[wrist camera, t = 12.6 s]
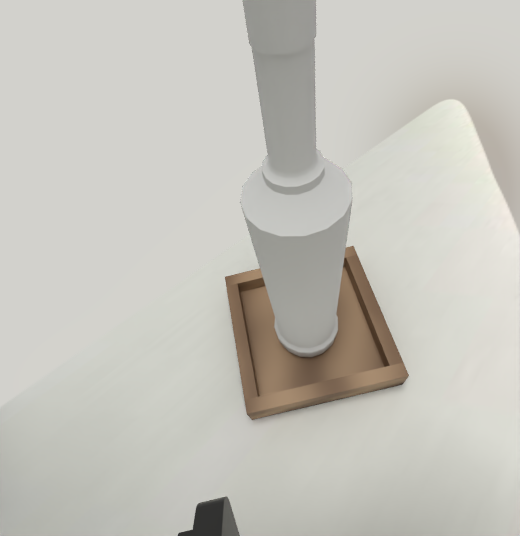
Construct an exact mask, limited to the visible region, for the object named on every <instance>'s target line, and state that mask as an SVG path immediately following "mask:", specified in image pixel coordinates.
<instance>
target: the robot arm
mask: <svg viewBox="0 0 520 536" xmlns="http://www.w3.org/2000/svg"><path fill="white" fill-rule="evenodd" d="M178 536H240V535H239V532H238V529H237V525H236V522H235V519H234V515H233V512H232V509H231V505H230V502H229V499H228V498H227V497H223V498H219V499H214V500H210V501H206V502H201V503H198V505H197V507H196V513H195V519H194V525H193V530H190V531H185V532H181V533H179V534H178Z"/></svg>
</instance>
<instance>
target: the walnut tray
mask: <svg viewBox="0 0 520 536" xmlns="http://www.w3.org/2000/svg"><path fill="white" fill-rule="evenodd" d="M225 280H226V287H227V293H228V299H229V305H230V312H231V318H232V324H233V330H234V337H235V343H236V349H237V355H238V362H239V368H240V374H241V380H242V386H243V393H244V399H245V405H246V411H247V415H248V416H249V417H250V418H251V419H252V420H253V419H257V418H261V417H266V416H270V415H274V414H279V413H283V412H287V411H291V410H296V409H300V408H304V407H308V406H313V405H317V404H321V403H325V402H330V401H334V400H338V399H343V398H347V397H351V396H355V395H360V394H364V393H368V392H372V391H377V390H381V389H385V388H389V387H394V386H398V385H402V384H403V383H404V382H405V380H406V379H407V378H408V376H409V375H408V373H407V370H406V368H405V366H404V363H403V361H402V359H401V356H400V354H399V352H398V349H397V347H396V345H395V342H394V340H393V338H392V335H391V333H390V331H389V328H388V326H387V324H386V321H385V319H384V316H383V314H382V312H381V309H380V307H379V305H378V302H377V300H376V298H375V295H374V293H373V291H372V288H371V286H370V284H369V281H368V279H367V277H366V274H365V272H364V270H363V267H362V265H361V263H360V260H359V258H358V256H357V253H356V251H355V249H354V246H351V247H347V248H346V249H345V256H344V263H343V270H342V277H341V284H340V291H339V299H338V306H337V313H336V315H337V317H338V332H337V335H336V337H335V339H334V342H333V344H332V345H331V346H330V347H329V348H328V349H327V350H326V351H325V352H324V353H322V354H320V355H317V356H314V357H299V356H297V355H295V354H293V353H291V352H289V351H288V350H287V349H286V348H285V347H284V346H283V345H282V344H281V343H280V341H279V339H278V336H277V333H276V330H275V327H274V324H275V315H274V312H273V309H272V305H271V302H270V299H269V296H268V292H267V289H266V286H265V282H264V279H263V276H262V273H261V269H256V270H252V271H248V272H243V273H239V274H235V275H231V276H227V277H225Z"/></svg>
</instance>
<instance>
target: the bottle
mask: <svg viewBox="0 0 520 536" xmlns="http://www.w3.org/2000/svg"><path fill="white" fill-rule="evenodd" d="M243 6H244V12H245V19H246V25H247V31H248V38H249V43H250V45H251V47H252V52H253V59H254V65H255V72H256V79H257V86H258V92H259V98H260V106H261V112H262V119H263V126H264V132H265V139H266V145H267V153H268V155H267V156H266V158H265V159H264V160H263V164H262V166H261V167H260V168H258V169H257V170H255V171H254V172H252V174H251V175H250V177H249V178H248V180H247V181H246V182H245V184H244V185H243V188H242V194H241V199H240V203H241V207H242V210H243V213H244V217H245V220H246V223H247V226H248V230H249V233H250V236H251V240H252V243H253V246H254V250H255V253H256V256H257V259H258V263H259V266H260V269H261V273H262V276H263V279H264V282H265V286H266V289H267V292H268V296H269V299H270V302H271V305H272V309H273V312H274V315H275V324H274V327H275V330H276V333H277V336H278V339H279V341H280V343H281V344H282V345H283V346H284V347H285V348H286V349H287V350H288V351H289V352H291V353H293V354H295V355H297V356H299V357H314V356H317V355H320V354H322V353H324V352H325V351H326V350H327V349H328V348H329V347H330V346H331V345H332V344H333V342H334V339H335V337H336V335H337V332H338V317H337V315H336V313H337V306H338V299H339V291H340V284H341V277H342V270H343V263H344V256H345V249H346V242H347V234H348V227H349V220H350V213H351V206H352V182H351V181H350V179H349V178H348V176H347V175H346V173H345V172H344V170H343V169H342V168H341V167H339V166H338V165H336V164H334V163H333V162H331V161H329V160H328V159H326V158H324V157H323V155H322V154H321V152H320V151H319V150H317V149H316V121H315V120H316V117H315V50H314V38H315V37H316V0H243Z"/></svg>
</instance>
